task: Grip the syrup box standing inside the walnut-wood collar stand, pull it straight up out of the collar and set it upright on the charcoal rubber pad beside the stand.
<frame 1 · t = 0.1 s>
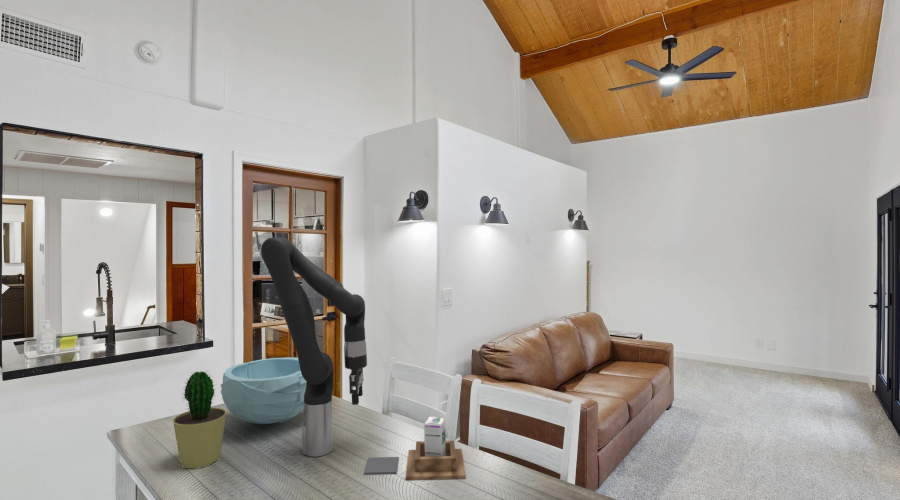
hand: (357, 400, 156), 17 cm above the table, tool pointing down, fingers open, 8 cm apart
bowl: (271, 423, 181), on the table
felt pad: (382, 466, 145), on the table
collar stand: (435, 465, 145), on the table
syrup box: (435, 465, 145), resting in collar stand
potted cactus: (200, 461, 149), on the table
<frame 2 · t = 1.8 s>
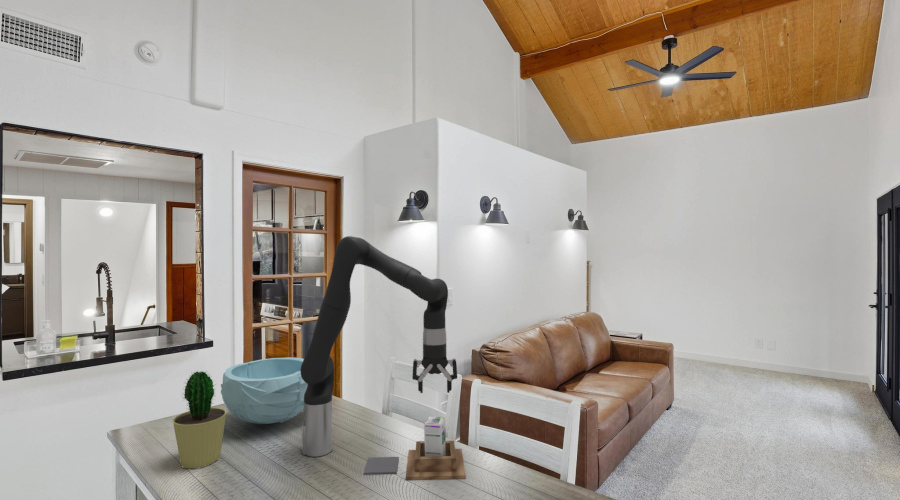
hand: (435, 392, 145), 23 cm above the table, tool pointing down, fingers open, 8 cm apart
nothing on the table moved.
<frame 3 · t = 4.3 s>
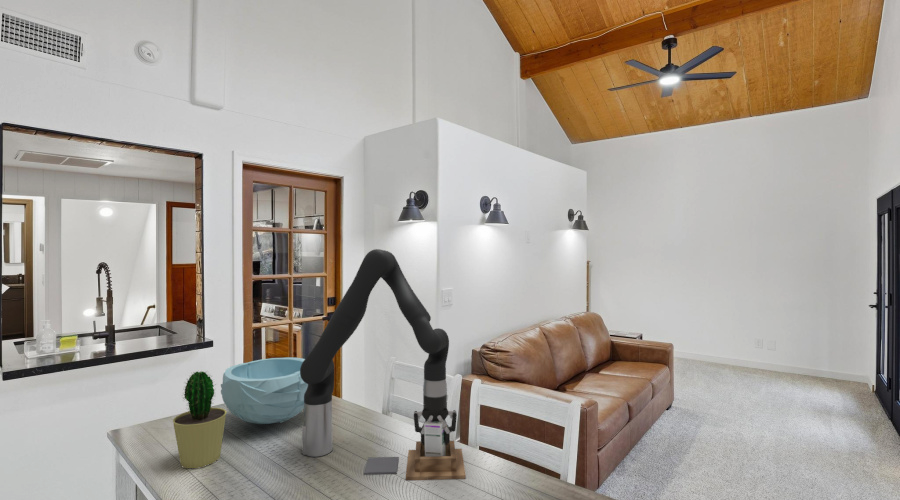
hand: (435, 444, 145), 7 cm above the table, tool pointing down, fingers closed on syrup box, 6 cm apart
syrup box: (435, 465, 145), resting in collar stand, touching gripper
everything else where it was.
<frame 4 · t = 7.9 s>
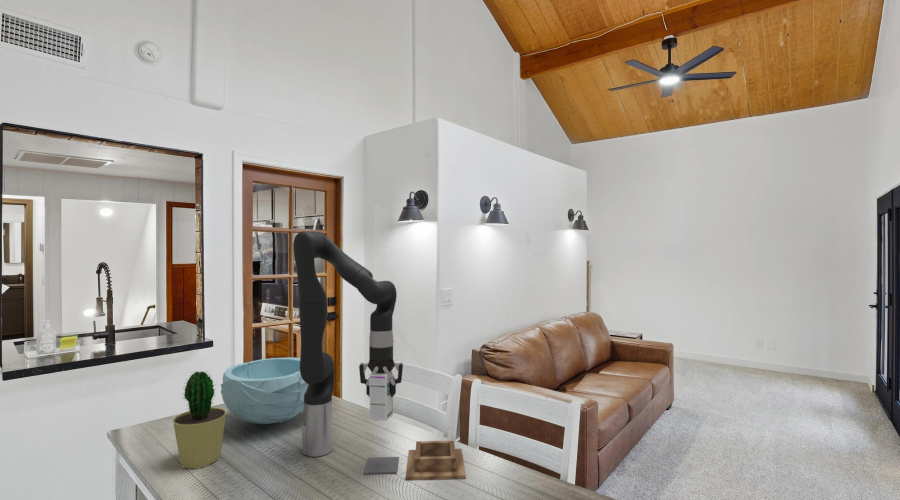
hand: (381, 396, 145), 22 cm above the table, tool pointing down, fingers closed on syrup box, 6 cm apart
syrup box: (381, 417, 145), point 16 cm above the table, touching gripper
everything else where it was.
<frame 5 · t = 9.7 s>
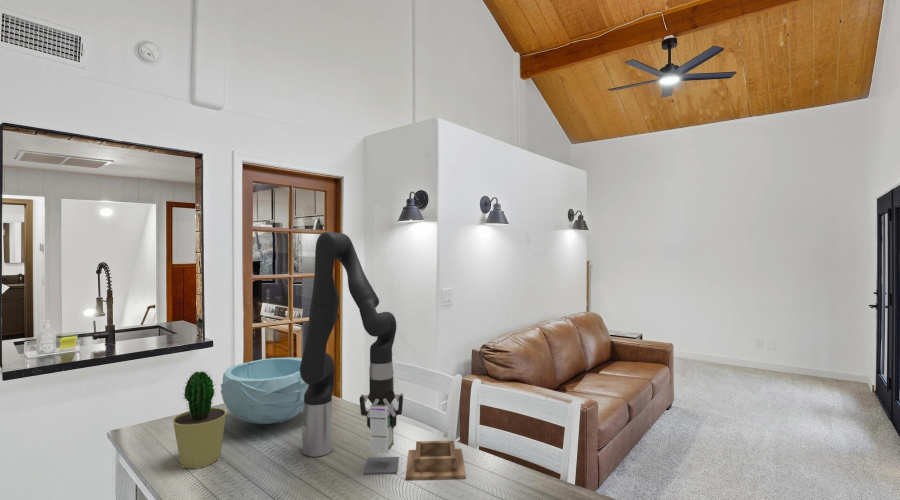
hand: (382, 427, 145), 12 cm above the table, tool pointing down, fingers closed on syrup box, 6 cm apart
syrup box: (382, 449, 145), point 5 cm above the table, touching gripper
everything else where it was.
when the fingers open (9 cm above the table, at t = 11.5 s): syrup box drops 1 cm, resting on felt pad.
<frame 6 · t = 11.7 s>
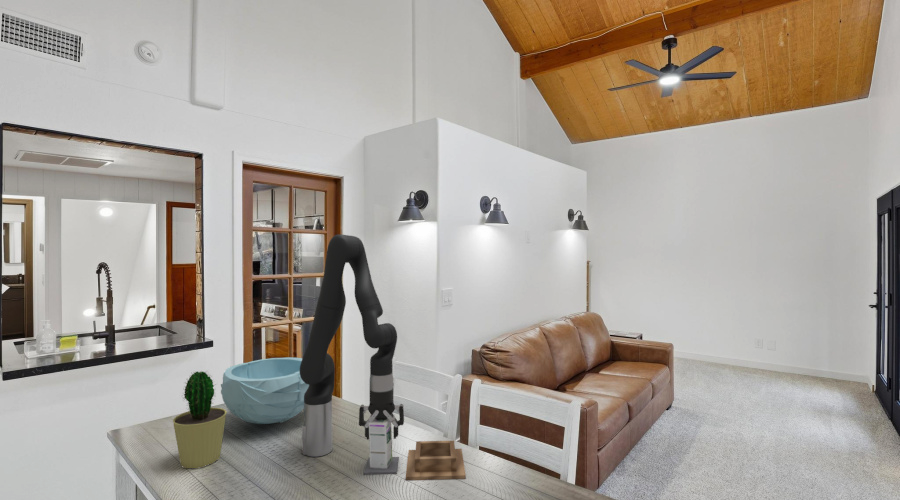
hand: (381, 438, 145), 9 cm above the table, tool pointing down, fingers open, 8 cm apart
syrup box: (380, 464, 145), resting on felt pad
everything else where it was.
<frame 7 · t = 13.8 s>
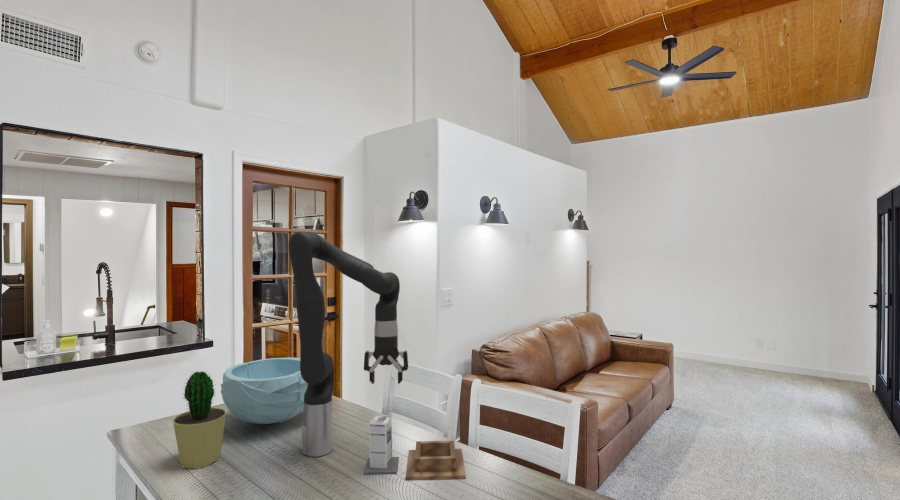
hand: (386, 383, 149), 25 cm above the table, tool pointing down, fingers open, 8 cm apart
nothing on the table moved.
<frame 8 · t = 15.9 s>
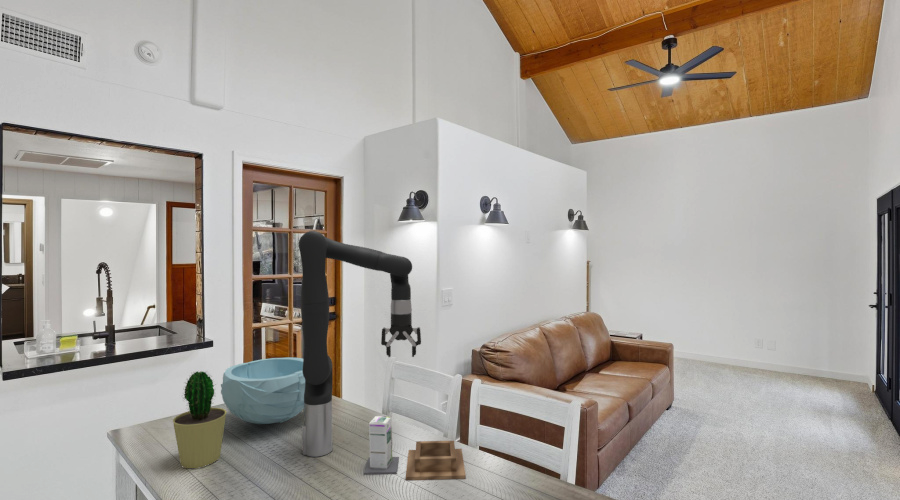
hand: (401, 356, 165), 30 cm above the table, tool pointing down, fingers open, 8 cm apart
nothing on the table moved.
at the end: syrup box inside the target area on the felt pad (0.3 cm from its centre), point 0.4 cm above the felt pad's base; syrup box tilted 0°; syrup box touching felt pad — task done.
